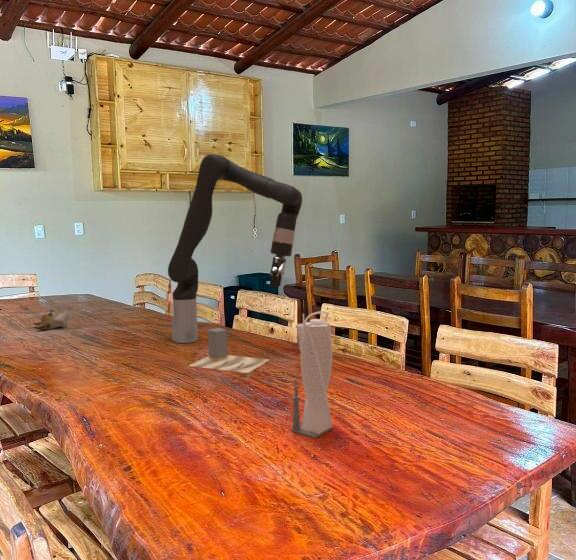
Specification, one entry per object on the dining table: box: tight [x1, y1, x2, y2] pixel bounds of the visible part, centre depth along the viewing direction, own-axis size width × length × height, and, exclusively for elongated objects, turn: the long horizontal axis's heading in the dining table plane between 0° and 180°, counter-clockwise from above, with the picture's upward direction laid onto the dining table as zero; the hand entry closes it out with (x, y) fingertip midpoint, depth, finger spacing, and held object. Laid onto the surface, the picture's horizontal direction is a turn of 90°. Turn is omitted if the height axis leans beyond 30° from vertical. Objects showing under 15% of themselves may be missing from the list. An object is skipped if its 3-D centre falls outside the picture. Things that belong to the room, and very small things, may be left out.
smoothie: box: [295, 313, 305, 353], centre depth 198 cm, size 6×6×14 cm
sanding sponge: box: [207, 327, 228, 361], centre depth 184 cm, size 4×4×10 cm
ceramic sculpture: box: [33, 309, 70, 331], centre depth 242 cm, size 11×9×15 cm
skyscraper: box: [290, 310, 333, 439], centre depth 126 cm, size 8×8×28 cm
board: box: [188, 354, 270, 379], centre depth 179 cm, size 22×16×2 cm
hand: (275, 286), depth 195 cm, fingers open, 8 cm apart
